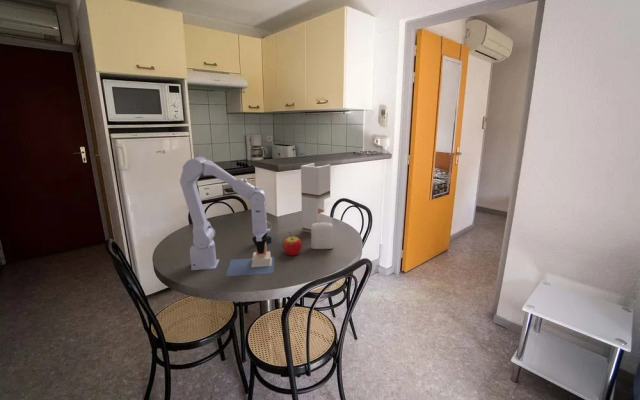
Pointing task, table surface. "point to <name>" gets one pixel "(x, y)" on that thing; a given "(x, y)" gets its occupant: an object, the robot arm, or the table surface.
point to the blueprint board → (248, 268)
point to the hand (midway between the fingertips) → (261, 250)
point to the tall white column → (313, 193)
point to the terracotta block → (264, 250)
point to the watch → (269, 233)
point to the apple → (292, 245)
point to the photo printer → (322, 235)
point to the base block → (261, 259)
